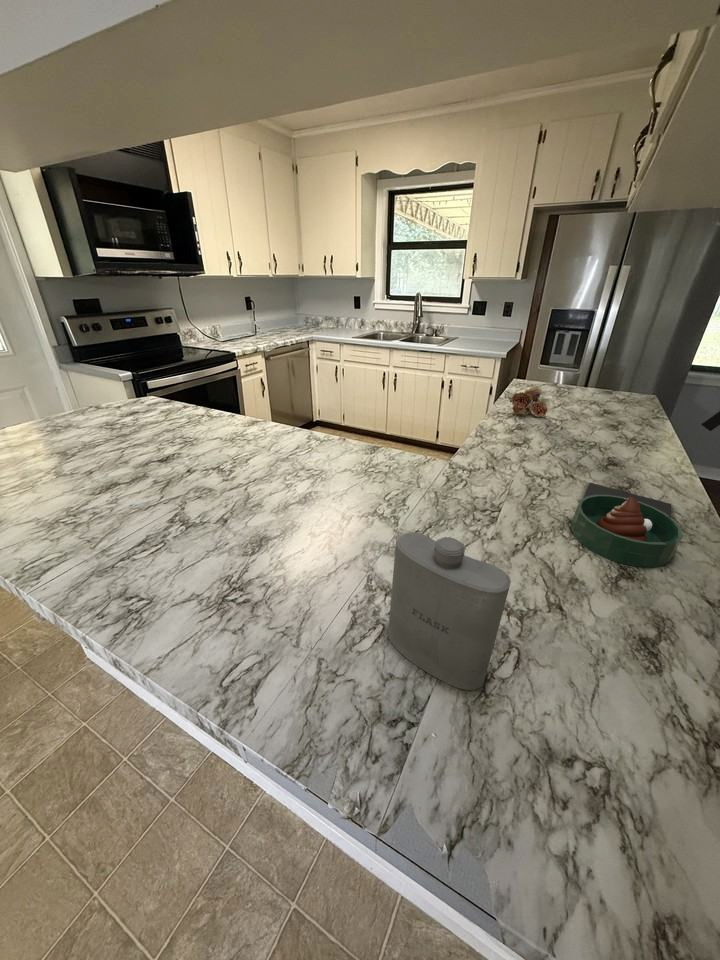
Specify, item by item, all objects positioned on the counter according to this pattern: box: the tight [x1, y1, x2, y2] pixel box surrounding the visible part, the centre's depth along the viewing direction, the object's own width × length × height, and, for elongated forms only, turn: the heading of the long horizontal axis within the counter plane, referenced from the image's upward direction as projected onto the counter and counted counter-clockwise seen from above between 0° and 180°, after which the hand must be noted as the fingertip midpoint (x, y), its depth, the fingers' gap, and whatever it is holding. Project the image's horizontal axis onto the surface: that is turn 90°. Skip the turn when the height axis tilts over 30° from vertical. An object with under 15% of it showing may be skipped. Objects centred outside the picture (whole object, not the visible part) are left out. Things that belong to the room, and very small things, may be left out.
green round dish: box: [570, 495, 684, 569], centre depth 82 cm, size 18×18×6 cm
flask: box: [387, 531, 512, 691], centre depth 52 cm, size 15×6×20 cm, turn 52°
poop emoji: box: [597, 497, 652, 542], centre depth 81 cm, size 10×8×9 cm
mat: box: [582, 482, 672, 518], centre depth 97 cm, size 18×12×1 cm, turn 55°
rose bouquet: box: [508, 386, 548, 418], centre depth 156 cm, size 13×16×15 cm
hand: (714, 440), depth 88 cm, fingers open, 13 cm apart
